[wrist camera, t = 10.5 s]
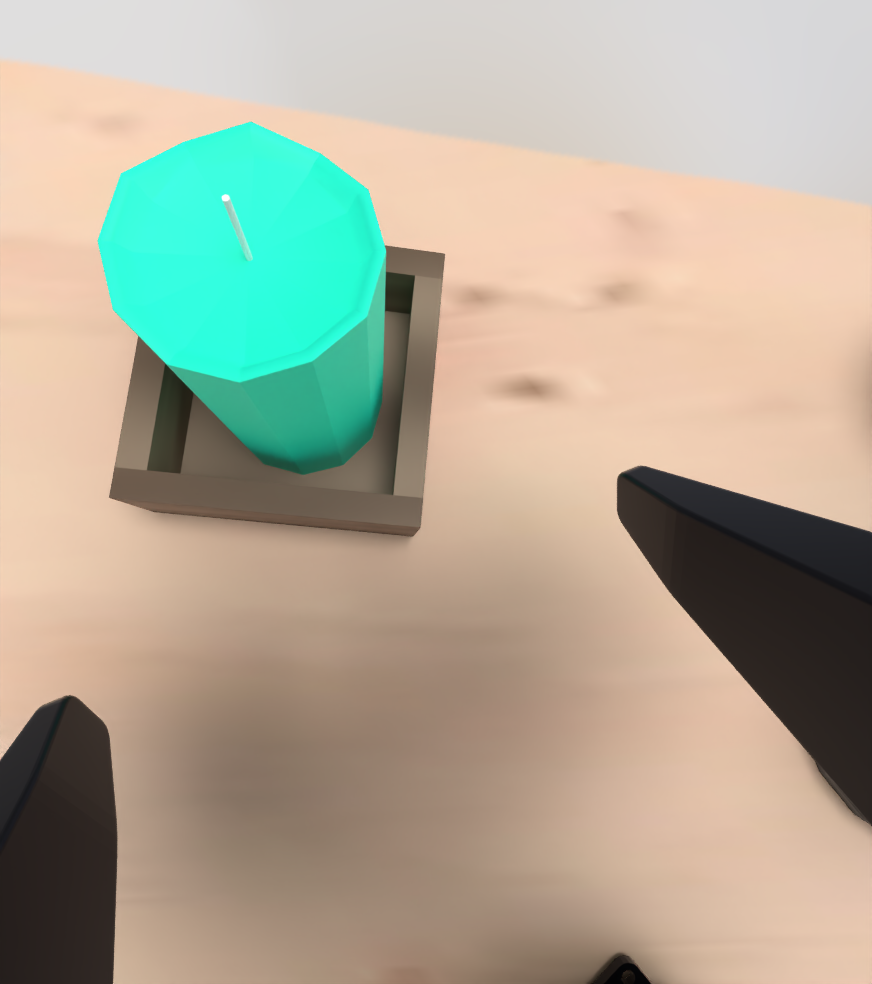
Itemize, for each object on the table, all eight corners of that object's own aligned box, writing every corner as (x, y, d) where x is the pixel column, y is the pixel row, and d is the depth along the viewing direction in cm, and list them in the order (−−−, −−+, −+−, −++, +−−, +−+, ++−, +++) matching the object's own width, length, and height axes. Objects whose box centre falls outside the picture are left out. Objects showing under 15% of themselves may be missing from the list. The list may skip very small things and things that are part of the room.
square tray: (413, 536, 23) (420, 527, 19) (154, 512, 22) (109, 497, 18) (434, 303, 24) (444, 253, 21) (194, 272, 24) (160, 214, 20)
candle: (410, 428, 23) (444, 263, 11) (273, 503, 22) (148, 409, 10) (335, 303, 23) (292, 14, 11) (198, 370, 22) (-4, 129, 10)
